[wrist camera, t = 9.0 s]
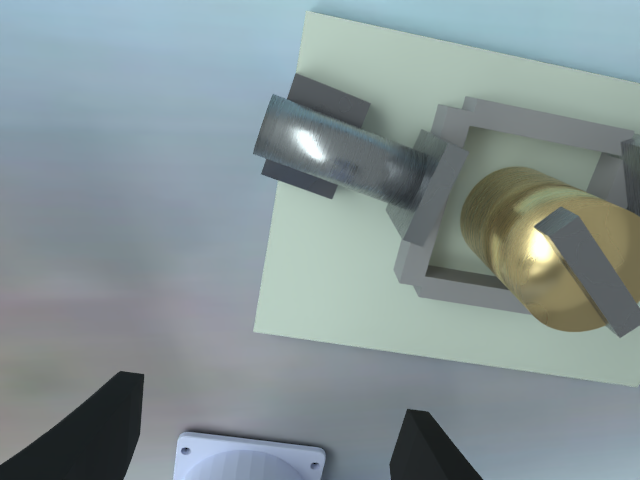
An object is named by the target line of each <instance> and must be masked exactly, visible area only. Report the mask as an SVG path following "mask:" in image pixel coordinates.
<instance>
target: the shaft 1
mask: <svg viewBox="0 0 640 480" xmlns="http://www.w3.org/2000/svg"><path fill="white" fill-rule="evenodd" d="M370 105H371V103H369V102H368V101H365V100H363V99H360V98H358V97H355V96H353V95H350V94H348V93H345V92H343V91H340V90H338V89H335V88H333V87H331V86H328V85H326V84H323V83H321V82H318V81H316V80H313V79H311V78H308V77H306V76H303V75H301V74H298V73H296V74H295V77H294V80H293V83H292V86H291V89H290V92H289V95H288V98H287V99H285V98H282V97H280V96H277V95H274V94H273V95H272V98H271V100H270V103H269V106H268V108H267V111H266V114H265V117H264V120H263V123H262V126H261V129H260V132H259V135H258V138H257V141H256V144H255V148H254V152H253V154H255V155H258V156H261V157H263V158H266V162H265V165H264V168H263V170H262V173H261V174H262V175H265V176H268V177H271V178H273V179H276V180H279V181H282V182H284V183H287V184H290V185H293V186H295V187H298V188H301V189H304V190H307V191H309V192H312V193H315V194H318V195H320V196H323V197H326V198H329V199H333V196H334V194H335V191H336V189H337V186H338V185H340V186H342V187H345V188H348V189H351V190H353V191H356V192H359V193H361V194H364V195H367V196H370V197H372V198H375V199H378V200H380V201H383V202H386V203H388V205H387V207H386V212H387V214H388V215H389V217H390V219H391V221H392V222H393V224H394V226H395V228H396V229H397V231H398V233H399V235H400V236H401V238H402V240H404V241H407V242H410V243H413V244H415V245H418V246H421V247H423V246H424V244H425V242H426V240H427V238H428V236H429V234H430V232H431V230H432V228H433V226H434V224H435V222H436V220H437V218H438V216H439V213H440V211H441V209H442V207H443V205H444V203H445V201H446V199H447V197H448V195H449V193H450V191H451V189H452V187H453V185H454V183H455V181H456V179H457V177H458V175H459V173H460V171H461V169H462V167H463V164H464V162H465V160H466V158H467V156H468V154H469V151H467V150H465V149H463V148H461V147H459V146H457V145H455V144H453V143H451V142H450V141H448V140H445V139H443V138H440V137H438V136H437V135H435V134H433V133H430V132H428V131H425V130H423V129H421V131H420V133H419V136H418V138H417V140H416V142H415V145H414V147H413V149H412V148H410V147H407V146H405V145H402V144H400V143H397V142H395V141H392V140H389V139H387V138H384V137H382V136H379V135H377V134H374V133H372V132H369V131H366V130H364V129H361V127H362V124H363V122H364V119H365V117H366V114H367V112H368V109H369V107H370Z"/></svg>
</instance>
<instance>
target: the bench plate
mask: <svg viewBox="0 0 640 480" xmlns="http://www.w3.org/2000/svg"><path fill="white" fill-rule="evenodd" d="M296 73H298V74H301V75H303V76H306V77H308V78H311V79H313V80H316V81H318V82H321V83H323V84H326V85H328V86H331V87H333V88H335V89H338V90H340V91H343V92H345V93H348V94H350V95H353V96H355V97H358V98H360V99H363V100H365V101H368V102H369V103H371V105H370V107H369V109H368V112H367V114H366V117H365V119H364V122H363V124H362V127H361V129H364V130H366V131H369V132H372V133H374V134H377V135H379V136H382V137H384V138H387V139H389V140H392V141H395V142H397V143H400V144H402V145H405V146H407V147H410V148H412V149H413V147H414V145H415V142H416V140H417V138H418V136H419V133H420V131H421V129H423V130H425V131H428V132H430V133H433V134H435V135H437V136H438V137H440V138H443V139H445V140H448V141H450V142H451V143H453V144H455V145H457V146H459V147H461V148H463V149H465V150H467V151H469V154H468V156H467V158H466V160H465V162H464V164H463V167H462V169H461V171H460V173H459V175H458V177H457V179H456V181H455V183H454V185H453V187H452V189H451V191H450V193H449V195H448V197H447V199H446V201H445V203H444V205H443V207H442V209H441V211H440V213H439V216H438V218H437V220H436V222H435V224H434V226H433V228H432V230H431V232H430V234H429V236H428V238H427V240H426V242H425V244H424V246H423V247H421V246H418V245H415V244H413V243H410V242H407V241H404V240H402V238H401V236H400V235H399V233H398V231H397V229H396V228H395V226H394V224H393V222H392V221H391V219H390V217H389V215H388V214H387V212H386V207H387V205H388V203H386V202H383V201H380V200H378V199H375V198H372V197H370V196H367V195H364V194H361V193H359V192H356V191H353V190H351V189H348V188H345V187H342V186H340V185H338V186H337V189H336V191H335V194H334V196H333V199H329V198H326V197H323V196H320V195H318V194H315V193H312V192H309V191H307V190H304V189H301V188H298V187H295V186H293V185H290V184H287V183H284V182H282V181H279V180H278V185H277V191H276V197H275V203H274V209H273V215H272V221H271V228H270V234H269V240H268V246H267V252H266V258H265V264H264V270H263V276H262V282H261V288H260V294H259V300H258V307H257V313H256V319H255V325H254V331H253V332H258V333H265V334H272V335H279V336H286V337H292V338H299V339H306V340H313V341H320V342H327V343H334V344H341V345H348V346H355V347H362V348H369V349H375V350H382V351H389V352H396V353H403V354H410V355H417V356H424V357H431V358H438V359H445V360H452V361H458V362H465V363H472V364H479V365H486V366H493V367H500V368H507V369H514V370H521V371H528V372H535V373H541V374H548V375H555V376H562V377H569V378H576V379H583V380H590V381H597V382H604V383H611V384H618V385H624V386H631V387H638V385H639V383H640V326H638V327H637V328H635V329H634V330H632V331H630V332H629V333H627V334H626V335H624V336H623V337H621V338H619V337H618V336H617V335H616V334H614V333H613V332H612V331H611V330H610V329H609V328H607V327H606V326H603V327H600V328H598V329H594V330H590V331H583V332H566V331H560V330H556V329H553V328H551V327H548V326H546V325H544V324H543V323H541V322H540V321H539V320H537V319H536V318H535V317H534V316H533V315H532V314H531V313H530V312H529V311H528V310H527V309H526V307H525V306H524V305H523V304H522V303H521V302H520V301H519V300H518V299H517V298H516V297H515V296H514V295H513V294H512V293H511V292H510V290H509V289H508V288H507V287H506V286H505V285H504V284H503V283H502V282H501V281H500V280H499V279H498V278H497V277H496V276H495V274H494V273H493V272H492V271H491V270H490V269H489V268H488V267H487V266H486V265H485V264H484V263H483V262H482V261H481V260H480V258H479V257H478V256H477V255H476V254H475V253H474V252H473V251H472V250H471V249H470V248H469V247H468V245H467V244H466V242H465V240H464V238H463V236H462V232H461V227H460V217H461V211H462V207H463V204H464V202H465V200H466V198H467V196H468V194H469V193H470V191H471V190H472V189H473V187H474V186H475V185H476V184H477V183H478V182H479V181H481V180H482V179H483V178H484V177H486V176H487V175H489V174H491V173H493V172H495V171H497V170H500V169H503V168H507V167H515V166H517V167H528V168H531V169H534V170H537V171H539V172H541V173H544V174H546V175H548V176H551V177H553V178H555V179H557V180H560V181H562V182H564V183H567V184H569V185H571V186H573V187H576V188H578V189H580V190H583V191H585V192H587V193H589V194H592V195H594V196H596V197H599V198H601V199H603V200H606V201H608V202H610V203H612V204H615V205H617V206H619V207H622V208H624V209H626V208H627V206H628V205H627V195H626V186H625V177H624V167H623V160H621V159H618V158H614V157H611V156H608V155H607V153H610V154H615V155H620V156H622V149H621V142H622V141H625V140H628V139H631V138H632V137H633V134H634V133H635V134H640V83H636V82H631V81H627V80H622V79H618V78H613V77H608V76H604V75H599V74H595V73H590V72H585V71H581V70H576V69H572V68H567V67H563V66H558V65H553V64H549V63H544V62H540V61H535V60H530V59H526V58H521V57H517V56H512V55H507V54H503V53H498V52H494V51H489V50H484V49H480V48H475V47H471V46H466V45H461V44H457V43H452V42H448V41H443V40H439V39H434V38H429V37H425V36H420V35H416V34H411V33H406V32H402V31H397V30H393V29H388V28H383V27H379V26H374V25H370V24H365V23H360V22H356V21H351V20H347V19H342V18H337V17H333V16H328V15H324V14H319V13H315V12H310V11H306V15H305V21H304V27H303V33H302V39H301V45H300V51H299V57H298V63H297V70H296ZM637 305H638V306H639V308H640V301H639V302H638V303H637Z"/></svg>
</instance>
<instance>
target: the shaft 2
mask: <svg viewBox="0 0 640 480" xmlns="http://www.w3.org/2000/svg"><path fill="white" fill-rule="evenodd" d="M621 149H622V156H620V155H615V154H610V153H607V155H608V156H611V157H614V158H618V159H621V160H623V167H624V177H625V186H626V195H627V205H628V206H627V208H626V210H628V211H630V212H633V213H635V214H636V215H638V216H639V217H640V134H635V133H634V134H633V137H632V138H631V139H628V140H625V141H622V142H621Z"/></svg>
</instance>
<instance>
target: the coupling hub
mask: <svg viewBox="0 0 640 480" xmlns="http://www.w3.org/2000/svg"><path fill="white" fill-rule="evenodd" d="M460 227H461V232H462V236H463V238H464V240H465V242H466V244H467V245H468V247H469V248H470V249H471V250H472V251H473V252H474V253H475V254H476V255H477V256H478V257H479V258H480V260H481V261H482V262H483V263H484V264H485V265H486V266H487V267H488V268H489V269H490V270H491V271H492V272H493V273H494V274H495V276H496V277H497V278H498V279H499V280H500V281H501V282H502V283H503V284H504V285H505V286H506V287H507V288H508V289H509V290H510V292H511V293H512V294H513V295H514V296H515V297H516V298H517V299H518V300H519V301H520V302H521V303H522V304H523V305H524V306H525V307H526V309H527V310H528V311H529V312H530V313H531V314H532V315H533V316H534V317H535V318H536V319H537V320H539V321H540V322H541V323H543V324H544V325H546V326H548V327H551V328H553V329H556V330H560V331H566V332H583V331H590V330H594V329H598V328H600V327H603V326H606V327H607V328H609V329H610V330H611V331H612V332H613V333H614V334H616V335H617V336H618V337H619V338H621V337H623V336H624V335H626V334H627V333H629V332H630V331H632V330H634V329H635V328H637V327H638V326H640V308H639V306H638V305H637V303H638V302H639V301H640V217H639V216H638V215H636V214H635V213H633V212H630V211H628V210H626V209H624V208H622V207H619V206H617V205H615V204H612V203H610V202H608V201H606V200H603V199H601V198H599V197H596V196H594V195H592V194H589V193H587V192H585V191H583V190H580V189H578V188H576V187H573V186H571V185H569V184H567V183H564V182H562V181H560V180H557V179H555V178H553V177H551V176H548V175H546V174H544V173H541V172H539V171H537V170H534V169H531V168H528V167H517V166H515V167H507V168H503V169H500V170H497V171H495V172H493V173H491V174H489V175H487V176H486V177H484V178H483V179H482V180H481V181H479V182H478V183H477V184H476V185H475V186H474V187H473V189H472V190H471V191H470V193H469V194H468V196H467V198H466V200H465V202H464V204H463V207H462V211H461V217H460Z"/></svg>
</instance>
